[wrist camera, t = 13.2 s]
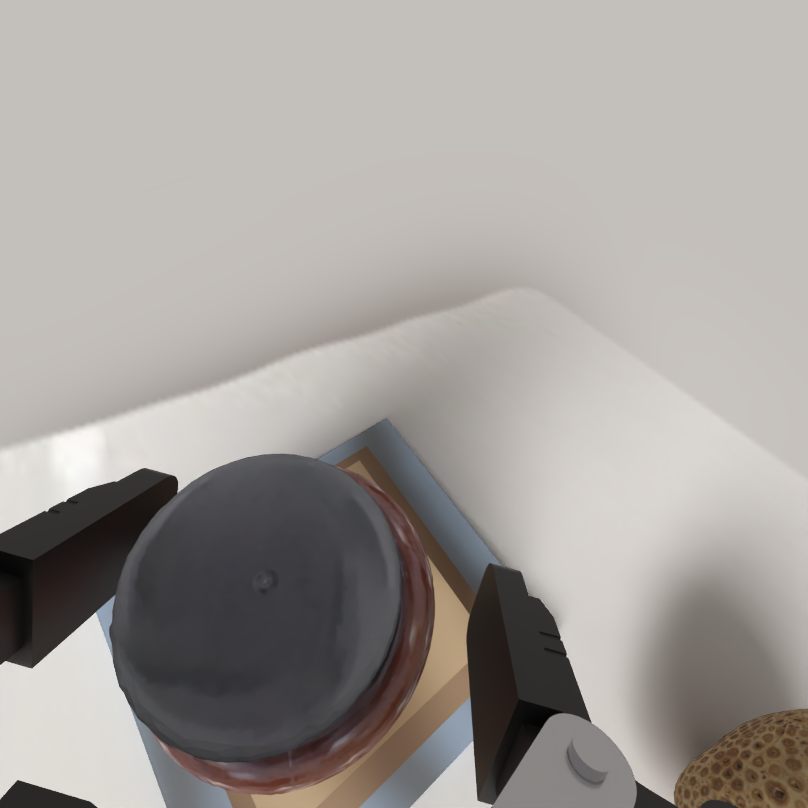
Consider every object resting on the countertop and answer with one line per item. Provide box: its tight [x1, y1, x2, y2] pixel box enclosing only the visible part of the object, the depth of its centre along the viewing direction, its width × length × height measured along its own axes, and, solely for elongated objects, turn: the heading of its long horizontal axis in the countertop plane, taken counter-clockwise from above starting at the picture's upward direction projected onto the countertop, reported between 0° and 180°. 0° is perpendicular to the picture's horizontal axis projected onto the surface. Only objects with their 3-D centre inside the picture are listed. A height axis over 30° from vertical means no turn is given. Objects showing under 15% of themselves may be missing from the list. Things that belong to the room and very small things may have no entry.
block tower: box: [96, 418, 502, 808], centre depth 19 cm, size 18×16×7 cm
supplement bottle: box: [109, 454, 435, 795], centre depth 11 cm, size 6×6×11 cm
